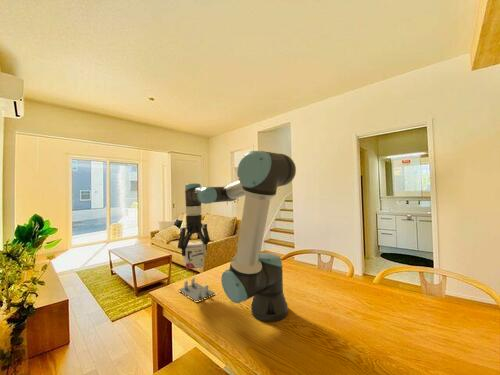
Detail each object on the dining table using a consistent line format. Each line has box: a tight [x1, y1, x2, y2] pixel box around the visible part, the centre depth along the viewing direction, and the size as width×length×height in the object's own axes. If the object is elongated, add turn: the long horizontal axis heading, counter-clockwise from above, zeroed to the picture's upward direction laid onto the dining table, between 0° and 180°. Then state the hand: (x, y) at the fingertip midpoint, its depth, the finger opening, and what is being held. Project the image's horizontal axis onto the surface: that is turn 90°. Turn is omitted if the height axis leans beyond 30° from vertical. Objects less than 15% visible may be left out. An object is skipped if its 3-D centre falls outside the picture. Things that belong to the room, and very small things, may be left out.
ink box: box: [185, 240, 205, 270], centre depth 106 cm, size 9×5×12 cm, turn 106°
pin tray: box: [178, 277, 216, 301], centre depth 106 cm, size 17×10×5 cm, turn 45°
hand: (195, 259), depth 107 cm, fingers closed on ink box, 9 cm apart
